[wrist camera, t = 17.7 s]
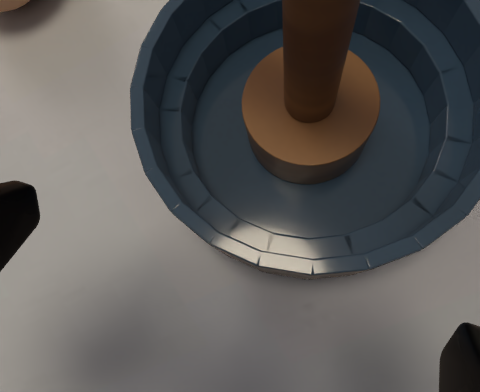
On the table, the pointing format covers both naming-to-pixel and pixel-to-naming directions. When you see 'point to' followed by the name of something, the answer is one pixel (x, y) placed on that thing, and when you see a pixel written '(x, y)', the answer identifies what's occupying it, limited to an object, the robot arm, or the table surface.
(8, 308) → the table surface
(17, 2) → the egg
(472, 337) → the robot arm
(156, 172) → the bowl
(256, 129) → the wooden knob stand
